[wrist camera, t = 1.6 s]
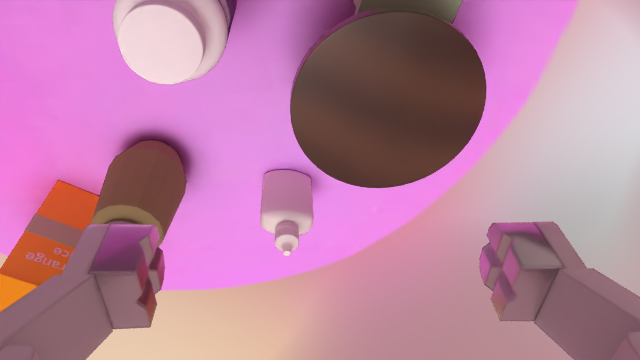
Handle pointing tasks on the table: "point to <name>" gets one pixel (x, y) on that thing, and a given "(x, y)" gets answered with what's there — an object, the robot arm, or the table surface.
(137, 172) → the squeeze bottle
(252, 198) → the table surface
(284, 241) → the eye dropper bottle
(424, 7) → the chair
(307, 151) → the little table
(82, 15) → the table surface
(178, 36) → the pill bottle
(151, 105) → the table surface
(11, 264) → the orange juice
